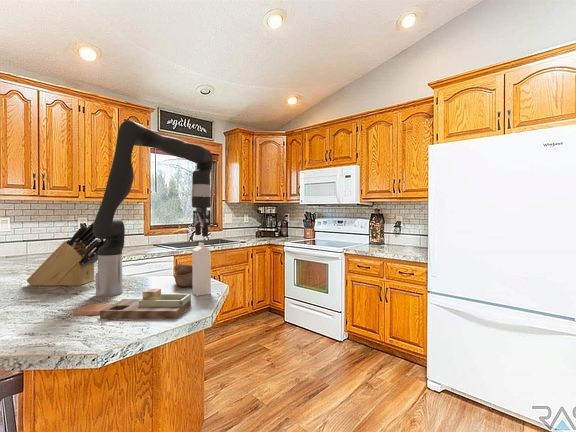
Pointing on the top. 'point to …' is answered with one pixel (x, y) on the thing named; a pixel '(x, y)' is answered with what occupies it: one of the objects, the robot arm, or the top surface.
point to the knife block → (70, 261)
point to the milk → (201, 270)
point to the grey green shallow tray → (167, 301)
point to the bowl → (183, 275)
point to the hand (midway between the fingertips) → (201, 235)
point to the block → (152, 294)
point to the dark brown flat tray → (141, 310)
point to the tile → (91, 309)
